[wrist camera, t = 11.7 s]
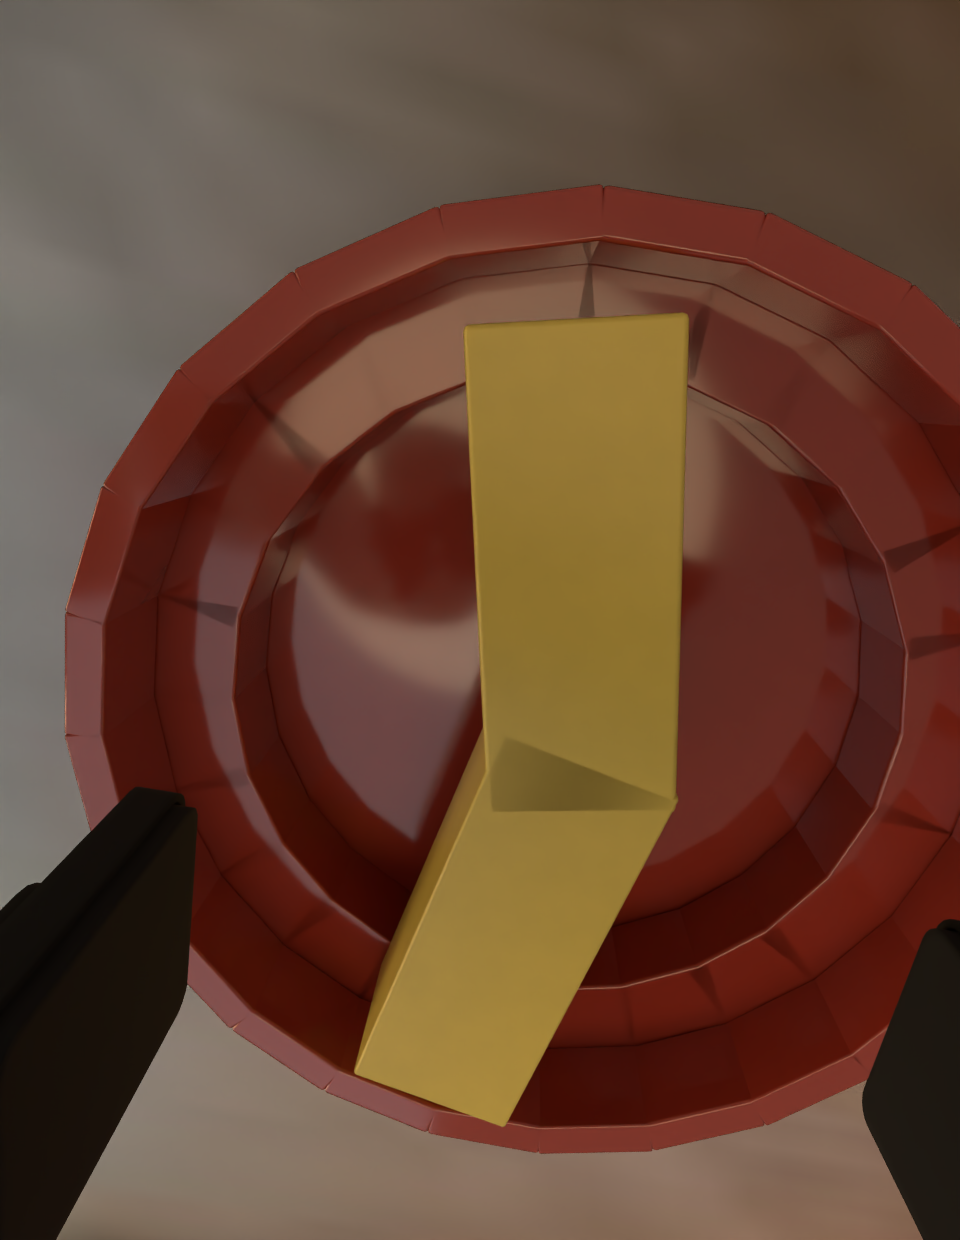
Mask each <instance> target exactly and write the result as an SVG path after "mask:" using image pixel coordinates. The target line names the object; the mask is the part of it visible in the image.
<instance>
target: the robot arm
mask: <svg viewBox="0 0 960 1240" xmlns="http://www.w3.org/2000/svg"><path fill="white" fill-rule="evenodd" d="M197 823H198V813H197V810H196V808H194V807H188V806H185V798H184V796H183V795H182V794H181V793H176V792H169V791H163V790H157V789H151V788H145V787H135V788H133V789H132V790H131V791H129V792H128V794H127V795H126V796H125V797H124V798H123V799H122V800H121V801H120V802H119V803H118V804H117V805H116V806H115V807H114V808H113V809H112V810H111V811H110V812H109V813H108V814H107V815H106V816H105V817H104V818H103V819H102V820H101V821H100V822H99V824H98V825H97V826H96V827H95V828H94V829H93V830H92V831H91V832H90V833H89V834H88V835H87V836H86V837H85V838H84V839H83V840H82V841H81V842H80V843H79V844H78V845H77V846H76V847H75V848H74V849H73V850H72V851H71V852H70V854H69V855H68V856H67V857H66V858H65V859H64V860H63V861H62V862H61V863H60V864H59V865H58V866H57V867H56V868H55V869H54V870H53V871H52V872H51V873H50V874H49V875H48V876H47V877H46V878H45V879H44V880H43V881H42V883H34V884H31V885H27V886H26V887H25V888H24V889H22V890H21V891H20V892H19V893H17V894H16V895H15V896H14V897H13V898H12V899H11V900H10V901H9V902H8V903H7V904H6V905H5V906H4V907H3V908H2V909H1V910H0V1240H56V1239H57V1237H58V1235H59V1233H60V1231H61V1229H62V1228H63V1226H64V1224H65V1222H66V1220H67V1218H68V1216H69V1215H70V1213H71V1211H72V1209H73V1207H74V1205H75V1203H76V1202H77V1200H78V1198H79V1196H80V1194H81V1192H82V1190H83V1189H84V1187H85V1185H86V1183H87V1181H88V1179H89V1177H90V1176H91V1174H92V1172H93V1170H94V1168H95V1166H96V1164H97V1163H98V1161H99V1159H100V1157H101V1155H102V1153H103V1151H104V1150H105V1148H106V1146H107V1144H108V1142H109V1140H110V1138H111V1137H112V1135H113V1133H114V1131H115V1129H116V1127H117V1126H118V1124H119V1122H120V1120H121V1118H122V1116H123V1114H124V1113H125V1111H126V1109H127V1107H128V1105H129V1103H130V1101H131V1100H132V1098H133V1096H134V1094H135V1092H136V1090H137V1088H138V1087H139V1085H140V1083H141V1081H142V1079H143V1077H144V1075H145V1074H146V1072H147V1070H148V1068H149V1066H150V1064H151V1062H152V1061H153V1059H154V1057H155V1055H156V1053H157V1051H158V1049H159V1048H160V1046H161V1044H162V1042H163V1040H164V1038H165V1036H166V1035H167V1033H168V1031H169V1029H170V1027H171V1025H172V1024H173V1022H174V1020H175V1018H176V1016H177V1014H178V1012H179V1010H180V1007H181V1005H182V1002H183V999H184V995H185V992H186V987H187V980H188V966H189V950H190V934H191V918H192V902H193V886H194V870H195V854H196V839H197ZM862 1106H863V1113H864V1117H865V1121H866V1123H867V1126H868V1128H869V1130H870V1132H871V1134H872V1136H873V1138H874V1140H875V1142H876V1144H877V1146H878V1148H879V1150H880V1152H881V1154H882V1156H883V1158H884V1160H885V1162H886V1165H887V1167H888V1169H889V1171H890V1173H891V1175H892V1177H893V1179H894V1181H895V1183H896V1185H897V1187H898V1189H899V1191H900V1193H901V1195H902V1197H903V1199H904V1201H905V1203H906V1205H907V1207H908V1209H909V1211H910V1213H911V1215H912V1217H913V1219H914V1222H915V1224H916V1226H917V1228H918V1230H919V1232H920V1234H921V1236H922V1238H923V1240H960V920H955V919H947V920H943V921H942V922H941V923H940V924H938V926H937V928H933V929H929V930H928V931H927V932H926V933H925V935H924V937H923V938H922V941H921V944H920V946H919V949H918V951H917V954H916V956H915V959H914V962H913V964H912V967H911V969H910V972H909V974H908V977H907V979H906V982H905V985H904V987H903V990H902V992H901V995H900V997H899V1000H898V1003H897V1005H896V1008H895V1010H894V1013H893V1015H892V1018H891V1020H890V1023H889V1026H888V1028H887V1031H886V1033H885V1036H884V1038H883V1041H882V1044H881V1046H880V1049H879V1051H878V1054H877V1056H876V1059H875V1062H874V1064H873V1067H872V1069H871V1072H870V1074H869V1077H868V1079H867V1082H866V1085H865V1087H864V1091H863V1097H862Z"/></svg>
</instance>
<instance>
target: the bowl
mask: <svg viewBox="0 0 960 1240" xmlns="http://www.w3.org/2000/svg"><path fill="white" fill-rule="evenodd" d="M682 312H683V313H686V314H688V317H689V346H688V382H687V418H686V454H685V490H684V527H683V563H682V599H681V635H680V671H679V707H678V744H677V780H676V793H677V796H678V802H677V804H676V808H675V810H674V812H672V813H671V815H670V817H669V819H668V821H667V823H666V825H665V827H664V828H663V830H662V832H661V834H660V836H659V838H658V840H657V842H656V843H655V845H654V847H653V849H652V851H651V853H650V855H649V857H648V859H647V860H646V862H645V864H644V866H643V868H642V870H641V872H640V874H639V875H638V877H637V879H636V881H635V883H634V885H633V887H632V889H631V890H630V892H629V894H628V896H627V898H626V900H625V902H624V904H623V906H622V907H621V909H620V911H619V913H618V915H617V917H616V919H615V921H614V922H613V924H612V926H611V928H610V930H609V932H608V934H607V936H606V937H605V939H604V941H603V943H602V945H601V947H600V949H599V951H598V953H597V954H596V956H595V958H594V960H593V962H592V964H591V966H590V968H589V969H588V971H587V973H586V975H585V977H584V979H583V981H582V983H581V984H580V986H579V988H578V990H577V992H576V994H575V996H574V998H573V1000H572V1001H571V1003H570V1005H569V1007H568V1009H567V1011H566V1013H565V1015H564V1016H563V1018H562V1020H561V1022H560V1024H559V1026H558V1028H557V1030H556V1032H555V1033H554V1035H553V1037H552V1039H551V1041H550V1043H549V1045H548V1047H547V1048H546V1050H545V1052H544V1054H543V1056H542V1058H541V1060H540V1062H539V1063H538V1065H537V1067H536V1069H535V1071H534V1073H533V1075H532V1077H531V1079H530V1080H529V1082H528V1084H527V1086H526V1088H525V1090H524V1092H523V1094H522V1095H521V1097H520V1099H519V1101H518V1103H517V1105H516V1107H515V1109H514V1110H513V1112H512V1114H511V1116H510V1118H509V1120H508V1122H507V1124H506V1126H504V1127H501V1126H499V1125H496V1124H493V1123H490V1122H487V1121H485V1120H482V1119H479V1118H476V1117H474V1116H471V1115H468V1114H465V1113H462V1112H460V1111H457V1110H454V1109H451V1108H448V1107H446V1106H443V1105H440V1104H437V1103H434V1102H432V1101H429V1100H426V1099H423V1098H420V1097H418V1096H415V1095H412V1094H409V1093H406V1092H404V1091H401V1090H398V1089H395V1088H392V1087H390V1086H387V1085H384V1084H381V1083H378V1082H376V1081H373V1080H370V1079H367V1078H364V1077H362V1076H359V1075H356V1074H355V1073H354V1068H355V1065H356V1061H357V1057H358V1053H359V1049H360V1045H361V1041H362V1037H363V1033H364V1030H365V1026H366V1022H367V1018H368V1014H369V1010H370V1006H371V1002H372V999H373V995H374V991H375V987H376V983H377V979H378V975H379V971H380V968H381V964H382V962H383V959H384V957H385V955H386V952H387V950H388V948H389V945H390V943H391V941H392V938H393V936H394V934H395V931H396V929H397V927H398V924H399V922H400V920H401V917H402V915H403V913H404V910H405V908H406V906H407V903H408V901H409V899H410V896H411V894H412V892H413V889H414V887H415V885H416V882H417V880H418V878H419V875H420V873H421V871H422V868H423V866H424V864H425V861H426V859H427V857H428V854H429V852H430V850H431V847H432V845H433V843H434V840H435V838H436V836H437V833H438V831H439V829H440V826H441V824H442V822H443V819H444V817H445V815H446V812H447V810H448V808H449V805H450V803H451V801H452V798H453V796H454V794H455V791H456V789H457V787H458V784H459V782H460V780H461V777H462V775H463V773H464V770H465V768H466V766H467V764H468V761H469V759H470V757H471V754H472V752H473V750H474V747H475V745H476V743H477V740H478V738H479V736H480V733H481V731H482V729H483V718H482V697H481V677H480V657H479V637H478V617H477V597H476V577H475V557H474V537H473V517H472V497H471V477H470V457H469V437H468V417H467V397H466V377H465V357H464V336H463V331H464V328H465V326H467V325H469V324H485V323H503V322H521V321H539V320H556V319H574V318H592V317H610V316H628V315H646V314H664V313H682ZM103 485H104V486H102V487H101V489H100V493H99V496H98V500H97V503H96V506H95V510H94V513H93V517H92V520H91V523H90V527H89V530H88V534H87V537H86V540H85V544H84V547H83V551H82V554H81V557H80V561H79V564H78V568H77V571H76V575H75V578H74V581H73V585H72V588H71V592H70V595H69V598H68V602H67V605H66V609H65V611H67V612H66V614H65V733H66V735H65V739H66V743H67V747H68V750H69V754H70V758H71V761H72V765H73V769H74V772H75V776H76V780H77V783H78V787H79V790H80V794H81V798H82V801H83V805H84V809H85V812H86V816H87V820H88V823H89V827H90V831H92V830H93V829H94V828H95V827H96V826H97V825H98V824H99V822H100V821H101V820H102V819H103V818H104V817H105V816H106V815H107V814H108V813H109V812H110V811H111V810H112V809H113V808H114V807H115V806H116V805H117V804H118V803H119V802H120V801H121V800H122V799H123V798H124V797H125V796H126V795H127V794H128V792H129V791H131V790H132V789H133V788H135V787H145V788H151V789H157V790H163V791H169V792H176V793H181V794H182V795H183V796H184V798H185V806H188V807H194V808H196V810H197V813H198V823H197V839H196V854H195V870H194V886H193V902H192V918H191V934H190V950H189V966H188V980H187V984H188V985H189V986H190V987H191V988H192V989H193V990H194V991H195V992H196V993H197V994H198V996H199V997H200V998H201V999H202V1000H203V1001H204V1002H205V1003H206V1004H207V1005H208V1006H209V1007H210V1008H211V1009H212V1010H213V1011H214V1012H215V1013H216V1015H217V1016H218V1017H219V1018H220V1019H221V1020H222V1021H223V1022H224V1023H225V1024H226V1025H227V1026H228V1027H229V1028H232V1027H233V1031H234V1032H236V1033H237V1034H239V1035H240V1036H242V1037H243V1038H245V1039H246V1040H248V1041H249V1042H251V1043H252V1044H254V1045H255V1046H257V1047H258V1048H260V1049H261V1050H263V1051H264V1052H266V1053H267V1054H269V1055H270V1056H272V1057H273V1058H274V1059H276V1060H277V1061H279V1062H280V1063H282V1064H283V1065H285V1066H286V1067H288V1068H289V1069H291V1070H292V1071H294V1072H295V1073H297V1074H298V1075H300V1076H301V1077H303V1078H304V1079H306V1080H307V1081H309V1082H310V1083H312V1084H313V1085H315V1086H316V1087H318V1088H319V1089H321V1090H324V1089H325V1091H326V1092H327V1093H329V1094H331V1095H334V1096H336V1097H339V1098H341V1099H344V1100H346V1101H349V1102H351V1103H354V1104H356V1105H359V1106H361V1107H364V1108H366V1109H369V1110H371V1111H374V1112H376V1113H379V1114H381V1115H384V1116H386V1117H389V1118H391V1119H394V1120H396V1121H399V1122H401V1123H404V1124H406V1125H409V1126H411V1127H414V1128H416V1129H419V1130H421V1131H424V1132H426V1131H429V1133H430V1134H435V1135H440V1136H446V1137H451V1138H457V1139H462V1140H468V1141H473V1142H479V1143H484V1144H490V1145H495V1146H501V1147H507V1148H512V1149H518V1150H523V1151H529V1152H534V1153H536V1152H538V1151H539V1153H541V1154H549V1153H598V1152H647V1151H652V1149H654V1150H659V1149H663V1148H668V1147H672V1146H677V1145H681V1144H685V1143H690V1142H694V1141H699V1140H703V1139H708V1138H712V1137H716V1136H721V1135H725V1134H730V1133H734V1132H739V1131H743V1130H748V1129H752V1128H756V1127H761V1126H763V1125H764V1123H765V1124H766V1125H769V1124H772V1123H774V1122H776V1121H778V1120H780V1119H782V1118H785V1117H787V1116H789V1115H791V1114H793V1113H796V1112H798V1111H800V1110H802V1109H804V1108H806V1107H809V1106H811V1105H813V1104H815V1103H817V1102H820V1101H822V1100H824V1099H826V1098H828V1097H830V1096H833V1095H835V1094H837V1093H839V1092H841V1091H844V1090H846V1089H848V1088H850V1087H852V1086H854V1085H857V1084H859V1083H861V1082H863V1081H865V1080H867V1079H868V1077H869V1074H870V1072H871V1069H872V1067H873V1064H874V1062H875V1059H876V1056H877V1054H878V1051H879V1049H880V1046H881V1044H882V1041H883V1038H884V1036H885V1033H886V1031H887V1028H888V1026H889V1023H890V1020H891V1018H892V1015H893V1013H894V1010H895V1008H896V1005H897V1003H898V1000H899V997H900V995H901V992H902V990H903V987H904V985H905V982H906V979H907V977H908V974H909V972H910V969H911V967H912V964H913V962H914V959H915V956H916V954H917V951H918V949H919V946H920V944H921V941H922V938H923V937H924V935H925V933H926V932H927V931H928V930H929V929H933V928H937V926H938V924H940V923H941V922H942V921H943V920H947V919H955V920H960V328H959V327H958V326H957V325H956V324H955V323H954V322H953V321H952V320H951V319H950V318H949V317H948V316H947V315H946V314H945V313H944V312H943V311H942V310H941V309H940V308H939V307H938V306H936V305H935V304H934V303H933V302H932V301H931V300H930V299H929V298H928V297H927V296H926V295H925V294H924V293H923V292H922V291H921V290H920V289H919V288H918V287H917V286H915V285H912V284H911V283H910V282H909V281H907V280H905V279H903V278H901V277H899V276H897V275H895V274H893V273H891V272H889V271H887V270H885V269H883V268H881V267H879V266H877V265H875V264H873V263H871V262H869V261H867V260H865V259H863V258H861V257H859V256H857V255H855V254H853V253H851V252H849V251H847V250H845V249H843V248H841V247H839V246H837V245H835V244H833V243H831V242H829V241H827V240H825V239H823V238H821V237H819V236H817V235H815V234H813V233H811V232H809V231H807V230H805V229H803V228H801V227H799V226H797V225H795V224H793V223H791V222H789V221H787V220H785V219H783V218H781V217H778V216H776V215H774V214H772V213H767V214H766V215H765V213H764V212H763V211H761V210H755V209H749V208H743V207H737V206H731V205H725V204H719V203H713V202H706V201H700V200H694V199H688V198H682V197H676V196H670V195H664V194H658V193H652V192H646V191H640V190H634V189H628V188H622V187H615V186H605V187H604V188H603V186H602V185H600V184H598V185H591V186H583V187H575V188H567V189H560V190H552V191H544V192H536V193H529V194H521V195H513V196H505V197H498V198H490V199H482V200H474V201H467V202H459V203H451V204H443V205H441V206H440V208H439V207H434V208H432V209H429V210H427V211H425V212H423V213H420V214H418V215H416V216H414V217H411V218H409V219H407V220H404V221H402V222H400V223H398V224H395V225H393V226H391V227H389V228H386V229H384V230H382V231H380V232H377V233H375V234H373V235H371V236H368V237H366V238H364V239H362V240H359V241H357V242H355V243H353V244H350V245H348V246H346V247H343V248H341V249H339V250H337V251H334V252H332V253H330V254H328V255H325V256H323V257H321V258H319V259H316V260H314V261H312V262H310V263H307V264H305V265H303V266H301V267H298V268H297V269H296V270H295V273H294V272H290V273H289V274H288V275H286V276H285V277H284V278H283V279H282V280H280V281H279V282H278V283H277V284H276V285H275V286H273V287H272V288H271V289H270V290H269V291H268V292H266V293H265V294H264V295H263V296H262V297H261V298H259V299H258V300H257V301H256V302H255V303H253V304H252V305H251V306H250V307H249V308H248V309H246V310H245V311H244V312H243V313H242V314H241V315H239V316H238V317H237V318H236V319H235V320H234V321H232V322H231V323H230V324H229V325H228V326H226V327H225V328H224V329H223V330H222V331H221V332H219V333H218V334H217V335H216V336H215V337H214V338H212V339H211V340H210V341H209V342H208V343H207V344H205V345H204V346H203V347H202V348H201V349H200V350H198V351H197V352H196V353H195V354H194V355H192V356H191V357H190V358H189V359H188V360H187V361H185V362H184V363H183V364H182V365H181V367H180V369H178V370H177V371H176V372H175V374H174V375H173V377H172V378H171V380H170V381H169V383H168V384H167V386H166V387H165V389H164V391H163V392H162V394H161V395H160V397H159V398H158V400H157V401H156V403H155V404H154V406H153V408H152V409H151V411H150V412H149V414H148V415H147V417H146V418H145V420H144V421H143V423H142V425H141V426H140V428H139V429H138V431H137V432H136V434H135V435H134V437H133V438H132V440H131V442H130V443H129V445H128V446H127V448H126V449H125V451H124V452H123V454H122V455H121V457H120V458H119V460H118V462H117V463H116V465H115V466H114V468H113V469H112V471H111V472H110V474H109V475H108V477H107V479H106V480H105V482H104V484H103Z"/></svg>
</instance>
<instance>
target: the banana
mask: <svg viewBox="0 0 960 1240" xmlns="http://www.w3.org/2000/svg"><path fill="white" fill-rule="evenodd" d="M463 336H464V357H465V377H466V397H467V417H468V437H469V457H470V477H471V497H472V517H473V537H474V557H475V577H476V597H477V617H478V637H479V657H480V677H481V697H482V718H483V729H482V731H481V733H480V736H479V738H478V740H477V743H476V745H475V747H474V750H473V752H472V754H471V757H470V759H469V761H468V764H467V766H466V768H465V770H464V773H463V775H462V777H461V780H460V782H459V784H458V787H457V789H456V791H455V794H454V796H453V798H452V801H451V803H450V805H449V808H448V810H447V812H446V815H445V817H444V819H443V822H442V824H441V826H440V829H439V831H438V833H437V836H436V838H435V840H434V843H433V845H432V847H431V850H430V852H429V854H428V857H427V859H426V861H425V864H424V866H423V868H422V871H421V873H420V875H419V878H418V880H417V882H416V885H415V887H414V889H413V892H412V894H411V896H410V899H409V901H408V903H407V906H406V908H405V910H404V913H403V915H402V917H401V920H400V922H399V924H398V927H397V929H396V931H395V934H394V936H393V938H392V941H391V943H390V945H389V948H388V950H387V952H386V955H385V957H384V959H383V962H382V964H381V968H380V971H379V975H378V979H377V983H376V987H375V991H374V995H373V999H372V1002H371V1006H370V1010H369V1014H368V1018H367V1022H366V1026H365V1030H364V1033H363V1037H362V1041H361V1045H360V1049H359V1053H358V1057H357V1061H356V1065H355V1068H354V1073H355V1074H356V1075H359V1076H362V1077H364V1078H367V1079H370V1080H373V1081H376V1082H378V1083H381V1084H384V1085H387V1086H390V1087H392V1088H395V1089H398V1090H401V1091H404V1092H406V1093H409V1094H412V1095H415V1096H418V1097H420V1098H423V1099H426V1100H429V1101H432V1102H434V1103H437V1104H440V1105H443V1106H446V1107H448V1108H451V1109H454V1110H457V1111H460V1112H462V1113H465V1114H468V1115H471V1116H474V1117H476V1118H479V1119H482V1120H485V1121H487V1122H490V1123H493V1124H496V1125H499V1126H501V1127H504V1126H506V1124H507V1122H508V1120H509V1118H510V1116H511V1114H512V1112H513V1110H514V1109H515V1107H516V1105H517V1103H518V1101H519V1099H520V1097H521V1095H522V1094H523V1092H524V1090H525V1088H526V1086H527V1084H528V1082H529V1080H530V1079H531V1077H532V1075H533V1073H534V1071H535V1069H536V1067H537V1065H538V1063H539V1062H540V1060H541V1058H542V1056H543V1054H544V1052H545V1050H546V1048H547V1047H548V1045H549V1043H550V1041H551V1039H552V1037H553V1035H554V1033H555V1032H556V1030H557V1028H558V1026H559V1024H560V1022H561V1020H562V1018H563V1016H564V1015H565V1013H566V1011H567V1009H568V1007H569V1005H570V1003H571V1001H572V1000H573V998H574V996H575V994H576V992H577V990H578V988H579V986H580V984H581V983H582V981H583V979H584V977H585V975H586V973H587V971H588V969H589V968H590V966H591V964H592V962H593V960H594V958H595V956H596V954H597V953H598V951H599V949H600V947H601V945H602V943H603V941H604V939H605V937H606V936H607V934H608V932H609V930H610V928H611V926H612V924H613V922H614V921H615V919H616V917H617V915H618V913H619V911H620V909H621V907H622V906H623V904H624V902H625V900H626V898H627V896H628V894H629V892H630V890H631V889H632V887H633V885H634V883H635V881H636V879H637V877H638V875H639V874H640V872H641V870H642V868H643V866H644V864H645V862H646V860H647V859H648V857H649V855H650V853H651V851H652V849H653V847H654V845H655V843H656V842H657V840H658V838H659V836H660V834H661V832H662V830H663V828H664V827H665V825H666V823H667V821H668V819H669V817H670V815H671V813H672V812H674V810H675V808H676V804H677V802H678V796H677V793H676V780H677V744H678V707H679V671H680V635H681V599H682V563H683V527H684V490H685V454H686V418H687V382H688V346H689V317H688V314H686V313H683V312H682V313H664V314H646V315H628V316H610V317H592V318H574V319H556V320H539V321H521V322H503V323H485V324H469V325H467V326H465V328H464V331H463Z"/></svg>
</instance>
